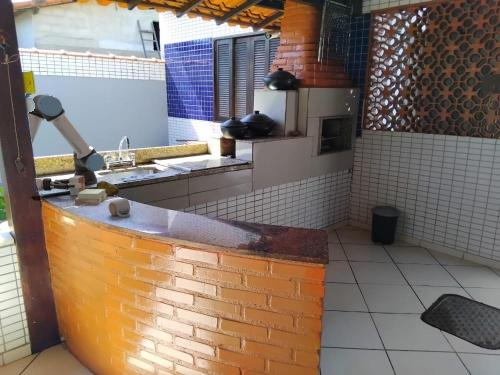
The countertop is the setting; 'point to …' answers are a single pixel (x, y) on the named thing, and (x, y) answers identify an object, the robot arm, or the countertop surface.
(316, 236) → the countertop surface
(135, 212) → the countertop surface
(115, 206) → the ceramic mug
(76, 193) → the small box
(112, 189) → the potato
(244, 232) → the countertop surface
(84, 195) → the sage top slab
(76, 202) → the birch base slab
